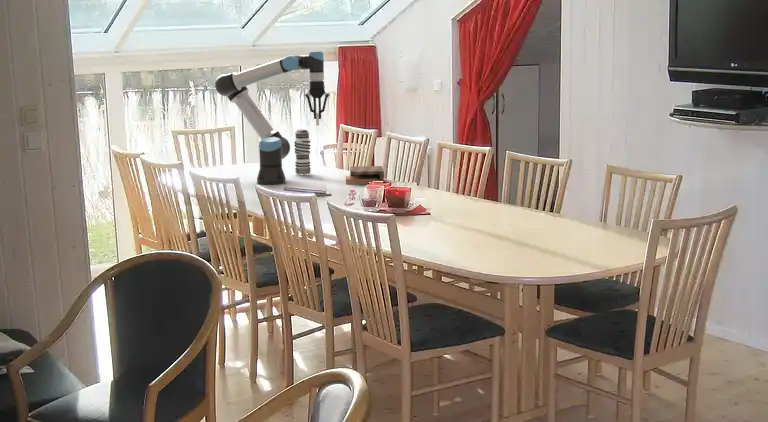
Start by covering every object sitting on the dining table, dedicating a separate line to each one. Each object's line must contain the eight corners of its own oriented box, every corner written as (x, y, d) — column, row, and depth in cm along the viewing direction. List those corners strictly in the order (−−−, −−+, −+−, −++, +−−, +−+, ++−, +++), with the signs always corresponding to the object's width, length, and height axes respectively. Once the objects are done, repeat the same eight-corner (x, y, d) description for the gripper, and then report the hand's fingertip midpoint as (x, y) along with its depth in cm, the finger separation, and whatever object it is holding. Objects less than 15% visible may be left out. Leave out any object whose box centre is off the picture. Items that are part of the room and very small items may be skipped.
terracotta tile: (346, 185, 499) (346, 179, 499) (345, 181, 510) (345, 176, 509) (376, 184, 500) (376, 178, 499) (375, 181, 511) (375, 175, 510)
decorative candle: (312, 173, 539) (311, 129, 535) (309, 175, 530) (308, 130, 526) (296, 173, 540) (295, 129, 536) (293, 175, 531) (292, 130, 527)
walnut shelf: (351, 185, 496) (351, 171, 494) (350, 179, 515) (350, 166, 514) (383, 184, 496) (383, 171, 495) (381, 178, 516) (381, 166, 515)
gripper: (304, 81, 502) (305, 126, 506) (329, 80, 502) (329, 125, 507) (304, 80, 509) (305, 124, 513) (329, 80, 510) (329, 124, 514)
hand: (317, 125), depth 510 cm, fingers closed
